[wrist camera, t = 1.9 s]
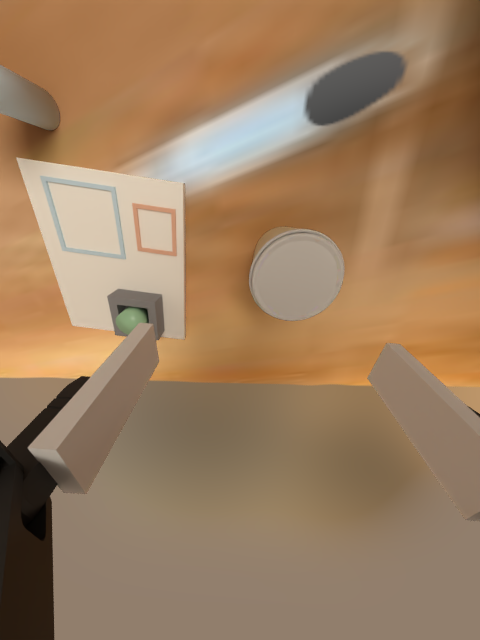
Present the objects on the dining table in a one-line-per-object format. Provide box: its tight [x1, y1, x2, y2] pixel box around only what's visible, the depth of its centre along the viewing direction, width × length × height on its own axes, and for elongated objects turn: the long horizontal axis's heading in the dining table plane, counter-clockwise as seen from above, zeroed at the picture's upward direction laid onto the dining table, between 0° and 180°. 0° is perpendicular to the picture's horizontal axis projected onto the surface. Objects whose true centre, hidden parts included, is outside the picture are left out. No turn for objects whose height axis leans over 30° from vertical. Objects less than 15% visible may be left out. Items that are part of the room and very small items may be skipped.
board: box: [16, 158, 186, 340], centre depth 30 cm, size 24×20×4 cm
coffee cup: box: [249, 227, 344, 321], centre depth 25 cm, size 9×9×12 cm
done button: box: [116, 306, 149, 335], centre depth 32 cm, size 4×4×3 cm
